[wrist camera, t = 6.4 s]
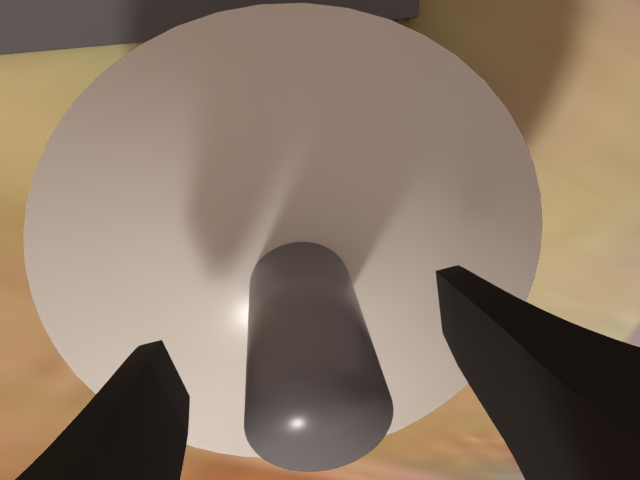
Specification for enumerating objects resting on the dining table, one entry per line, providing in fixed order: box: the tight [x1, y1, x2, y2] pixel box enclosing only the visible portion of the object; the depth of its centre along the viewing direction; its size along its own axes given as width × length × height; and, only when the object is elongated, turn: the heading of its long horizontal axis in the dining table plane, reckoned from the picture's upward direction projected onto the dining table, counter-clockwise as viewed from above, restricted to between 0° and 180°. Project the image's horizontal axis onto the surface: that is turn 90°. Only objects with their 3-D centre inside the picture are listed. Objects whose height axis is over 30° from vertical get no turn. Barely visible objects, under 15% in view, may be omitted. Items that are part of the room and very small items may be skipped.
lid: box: [23, 3, 542, 472], centre depth 11 cm, size 15×15×6 cm
